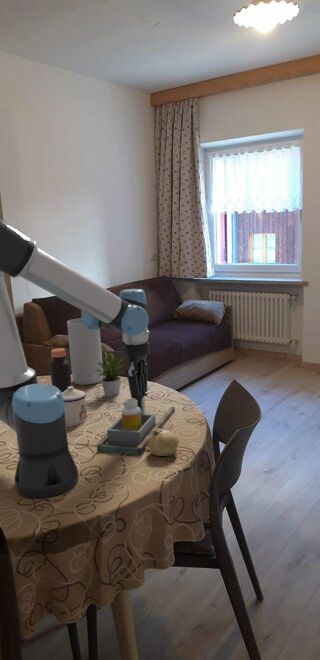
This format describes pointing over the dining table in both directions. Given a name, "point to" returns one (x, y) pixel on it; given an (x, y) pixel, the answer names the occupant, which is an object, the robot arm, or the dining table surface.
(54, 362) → the vinegar
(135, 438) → the box
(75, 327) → the cylinder vase
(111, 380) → the house plant
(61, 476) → the robot arm
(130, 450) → the bay
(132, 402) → the supplement bottle
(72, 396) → the teacup with lid
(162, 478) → the dining table surface
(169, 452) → the onion
